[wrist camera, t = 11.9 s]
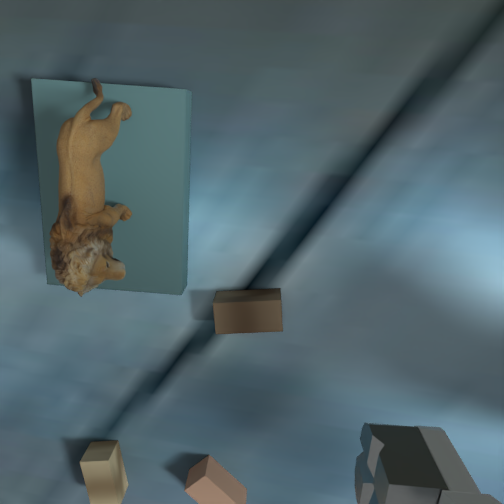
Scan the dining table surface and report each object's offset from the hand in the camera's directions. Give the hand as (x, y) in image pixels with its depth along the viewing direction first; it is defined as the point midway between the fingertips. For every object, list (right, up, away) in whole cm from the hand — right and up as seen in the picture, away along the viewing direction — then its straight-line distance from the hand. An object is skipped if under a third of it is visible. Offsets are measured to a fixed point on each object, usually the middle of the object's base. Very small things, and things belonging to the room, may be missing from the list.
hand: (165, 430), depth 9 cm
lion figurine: (-9, +9, +26) cm, 29 cm away
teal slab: (-10, +9, +28) cm, 31 cm away
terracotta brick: (-2, -21, +37) cm, 43 cm away
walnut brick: (+2, -1, +31) cm, 31 cm away
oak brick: (-14, -19, +37) cm, 44 cm away
